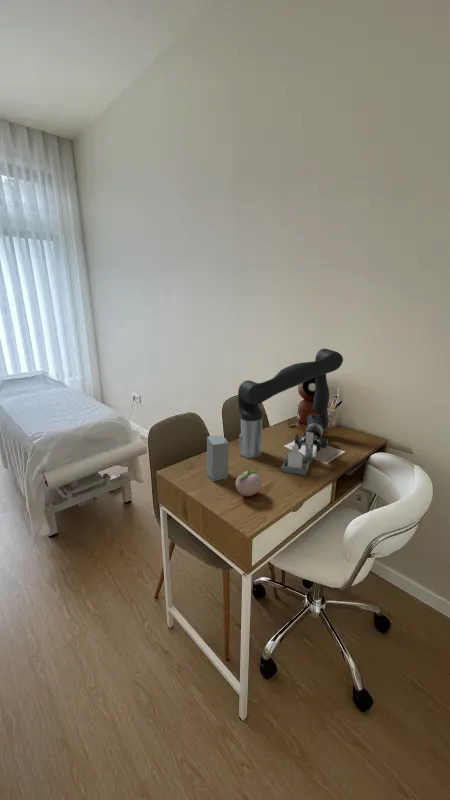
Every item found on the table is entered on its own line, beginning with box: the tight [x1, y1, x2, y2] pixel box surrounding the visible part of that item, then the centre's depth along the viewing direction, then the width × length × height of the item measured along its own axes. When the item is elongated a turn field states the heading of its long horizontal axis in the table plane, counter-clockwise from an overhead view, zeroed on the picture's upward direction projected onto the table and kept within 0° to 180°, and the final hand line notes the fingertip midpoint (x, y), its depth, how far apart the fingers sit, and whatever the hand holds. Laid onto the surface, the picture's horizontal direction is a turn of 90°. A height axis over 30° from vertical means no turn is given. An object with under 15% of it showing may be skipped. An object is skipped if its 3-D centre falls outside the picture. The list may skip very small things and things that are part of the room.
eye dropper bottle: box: [287, 442, 304, 469], centre depth 137 cm, size 4×6×12 cm
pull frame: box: [280, 432, 314, 476], centre depth 140 cm, size 11×14×13 cm
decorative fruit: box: [235, 469, 262, 497], centre depth 120 cm, size 9×8×10 cm
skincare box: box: [206, 434, 230, 482], centre depth 134 cm, size 8×7×16 cm
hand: (308, 448), depth 141 cm, fingers open, 6 cm apart
